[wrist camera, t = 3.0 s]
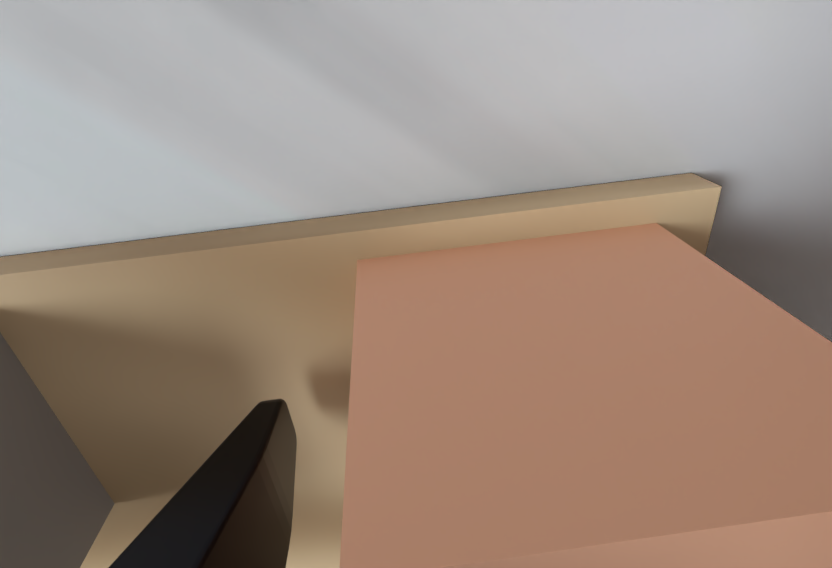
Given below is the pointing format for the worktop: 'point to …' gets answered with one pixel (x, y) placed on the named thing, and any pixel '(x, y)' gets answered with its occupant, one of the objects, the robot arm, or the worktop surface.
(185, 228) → the worktop surface
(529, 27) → the worktop surface
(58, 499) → the grey block
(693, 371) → the terracotta block
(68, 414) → the oak board
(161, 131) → the worktop surface
